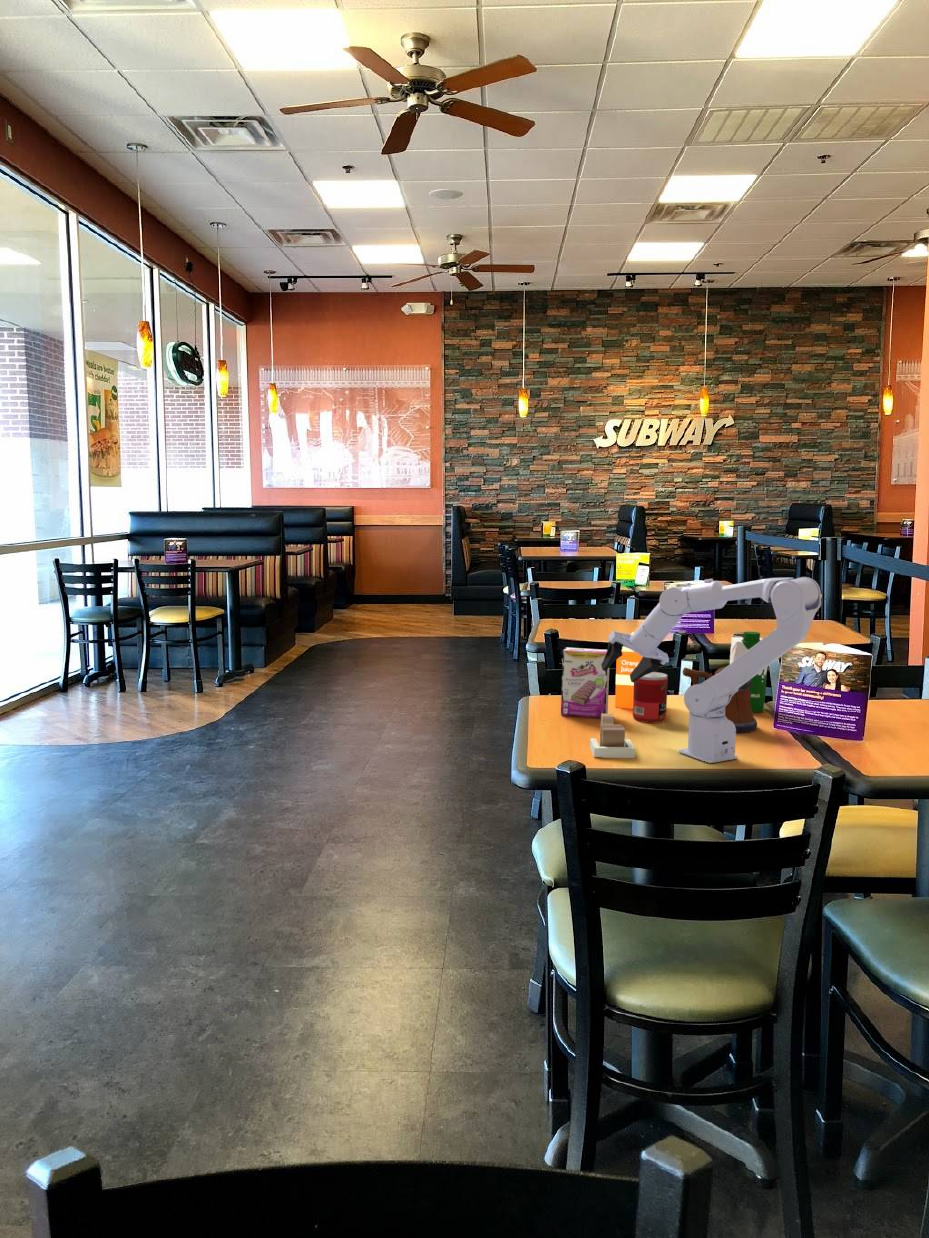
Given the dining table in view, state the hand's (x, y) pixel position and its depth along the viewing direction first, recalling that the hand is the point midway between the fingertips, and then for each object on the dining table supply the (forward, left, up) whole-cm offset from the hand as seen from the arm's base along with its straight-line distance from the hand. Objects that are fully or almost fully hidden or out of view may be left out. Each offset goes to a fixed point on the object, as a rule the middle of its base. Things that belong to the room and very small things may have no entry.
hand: (617, 673), depth 207 cm
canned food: (+9, -17, -15) cm, 25 cm away
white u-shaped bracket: (-10, +9, -14) cm, 20 cm away
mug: (-5, -26, -15) cm, 31 cm away
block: (-7, +7, -14) cm, 17 cm away
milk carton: (+6, -46, -15) cm, 49 cm away
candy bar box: (+19, -5, -15) cm, 25 cm away
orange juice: (+23, -23, -15) cm, 36 cm away
